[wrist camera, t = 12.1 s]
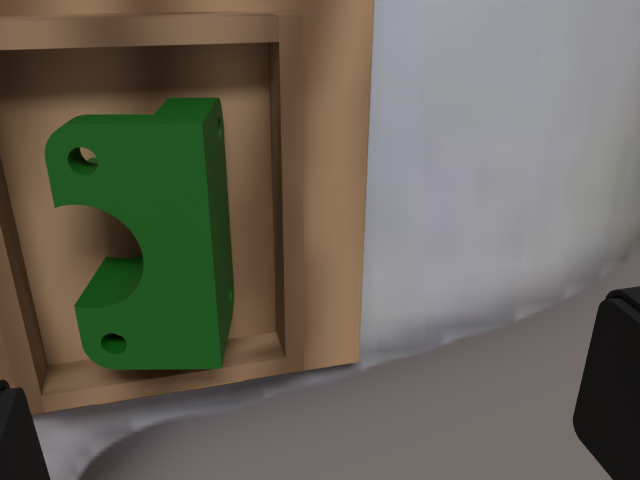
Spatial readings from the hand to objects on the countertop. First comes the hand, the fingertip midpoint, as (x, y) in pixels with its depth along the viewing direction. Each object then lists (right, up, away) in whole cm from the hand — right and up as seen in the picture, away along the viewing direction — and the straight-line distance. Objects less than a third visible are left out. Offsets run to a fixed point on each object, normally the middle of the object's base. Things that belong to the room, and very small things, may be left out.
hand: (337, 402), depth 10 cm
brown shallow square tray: (-9, +5, +21) cm, 23 cm away
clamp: (-8, +4, +20) cm, 22 cm away
